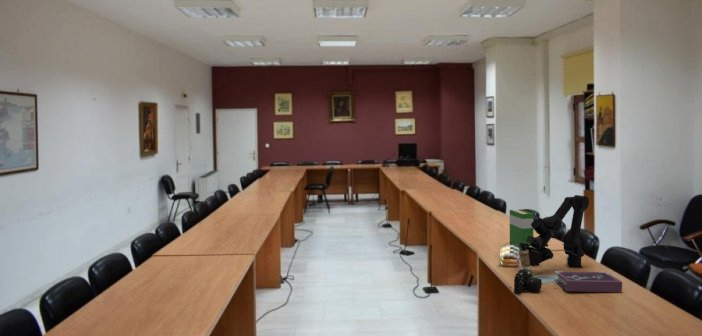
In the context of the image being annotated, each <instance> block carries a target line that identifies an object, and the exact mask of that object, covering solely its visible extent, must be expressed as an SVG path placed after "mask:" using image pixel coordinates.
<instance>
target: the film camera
mask: <svg viewBox="0 0 702 336" xmlns="http://www.w3.org/2000/svg"><path fill="white" fill-rule="evenodd" d="M531 271H532V270H531ZM531 271H529V270H528V269H523V268H521V267H520V269H519V270H518V271H517V273H516V274H515V276H514V279H513V294H516V295H521V294H522V293H523V292H534V293H535V292H536V293H540V291H541V289H542V285H543V284H542V280H541V279H538V278H537V277H532V272H533V271H532V272H531Z"/></svg>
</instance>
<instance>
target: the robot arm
mask: <svg viewBox="0 0 702 336" xmlns="http://www.w3.org/2000/svg"><path fill="white" fill-rule="evenodd" d="M589 204H590V198H589V197H588V196H586V195H579V194H575V195H573V196H566V197H565V198H564V199H563V201H562V203H561V204H560V206H559V207H558V209H557V210H556V211H555V213H554V214H553V215H550V216H549V217H548V218H547V219H546V220H544V219H543V218H540V217H538V218H536V219H535V220H534V219H533V222H532V223H531V226H532V228H533V231H535V232H536V234H537V235H538V236H533V237H532V236H527V239H526V242H529V243H530V245H531V246H532V247H530V246H529V245H528V243H524V242H521V243H520V245H519V246H520V248H521V249H522V251H529V253H530V252H531V251H535V252H539V256H538V258H537V260H536V261H535V263H534V265H535V266H534V267H537V266H536V265H538V264H539V265H540V264H541V263H543V262H545V261H548V260H550V259H551V260H552V259H553V258H554V253H553V251H552V250H551V249H550V248H548V246H549V244H548V243H549V242H550V240H551V239H556V237H555V233H554V232H559V230H560V229H561V227H562V225H563V219H564V218H565V217H566V215H567V214H568V213H569V212H570V210H571V209H572V210H573V211H572V212H573V214H572V217H571V225H570V229H569V235H568V237H566V238H564V240H563V244H562V246H563V250H564V254H565V255H567V257H566V265H567V266H568V268H581V269H582V268H583V266H582V258H583V257H585V251H584V250H583V248H582V243H581V240H580V235H581V229H582V222H583V217H584V212H585V211H586V210H587V209H588V207H589ZM528 255H529V254H528ZM539 265H538V266H539Z"/></svg>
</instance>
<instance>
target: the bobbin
mask: <svg viewBox="0 0 702 336" xmlns="http://www.w3.org/2000/svg"><path fill="white" fill-rule="evenodd" d="M528 254H529V251H519V262H520V265H521V266H520V269H521V268H523V269H528V270H529V271H531V272H532V276H534V275H535V272H534V271H532V266H531V265H530V261H529V255H528Z"/></svg>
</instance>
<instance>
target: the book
mask: <svg viewBox="0 0 702 336" xmlns="http://www.w3.org/2000/svg"><path fill="white" fill-rule="evenodd" d="M554 275H555V276H558V279H554V281H555V282H556V283H557V284H556V285H558V286H559V287H561V288H562V289H564V291H566V292H580V293H581V292H586V293H587V292H588V293H589V292H590V293H593V292H595V293H598V292H601V293H622V291H623V281H621V280H620V279H618V278H617V277H615V276H614V275H612V274H610V273H609V272H607V271H562V270H554Z"/></svg>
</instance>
